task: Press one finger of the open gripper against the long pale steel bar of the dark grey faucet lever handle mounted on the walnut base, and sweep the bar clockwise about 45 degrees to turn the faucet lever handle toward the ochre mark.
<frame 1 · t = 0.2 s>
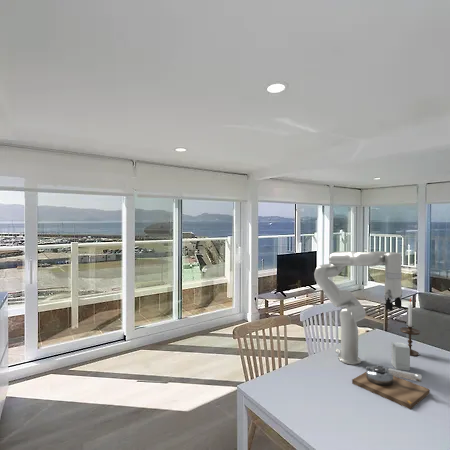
hand: (393, 308, 160), 36 cm above the table, tool pointing down, fingers open, 9 cm apart
candlestick: (410, 353, 190), on the table
supplement box: (400, 367, 171), on the table
nut base: (379, 384, 153), on the table
faucet lever handle: (392, 376, 150), point 6 cm above the table, hinge at 0.0°
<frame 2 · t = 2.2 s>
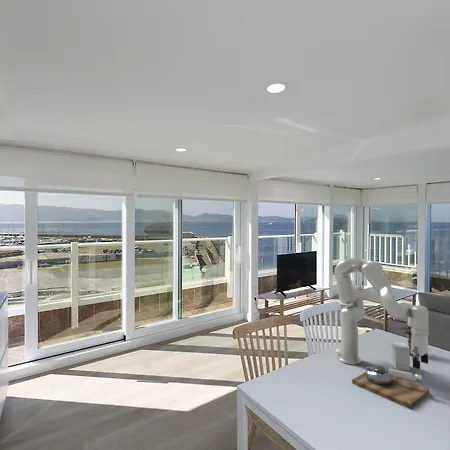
hand: (420, 365, 152), 10 cm above the table, tool pointing down, fingers open, 9 cm apart
nothing on the table moved.
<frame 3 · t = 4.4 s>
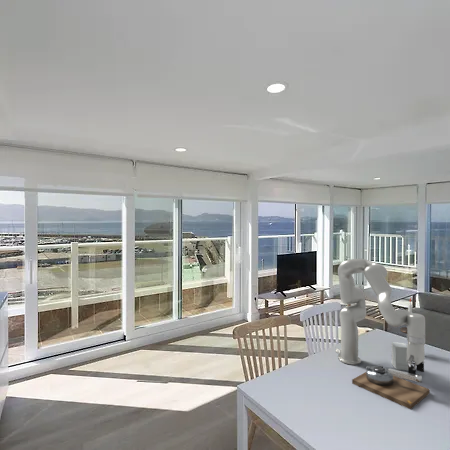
hand: (416, 374, 150), 6 cm above the table, tool pointing down, fingers open, 9 cm apart
faucet lever handle: (392, 376, 150), point 6 cm above the table, hinge at -2.8°, touching gripper
everything else where it was.
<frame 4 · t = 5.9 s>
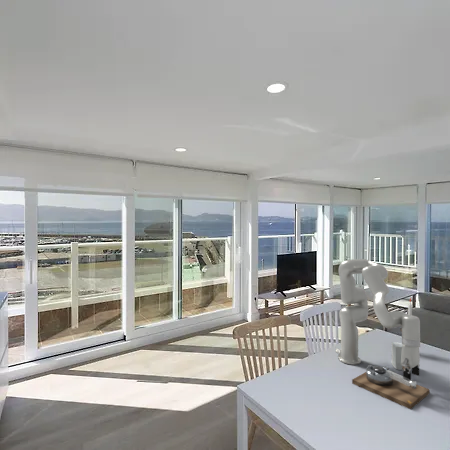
hand: (411, 377, 146), 7 cm above the table, tool pointing down, fingers open, 9 cm apart
faucet lever handle: (390, 378, 148), point 6 cm above the table, hinge at -31.2°, touching gripper
everything else where it was.
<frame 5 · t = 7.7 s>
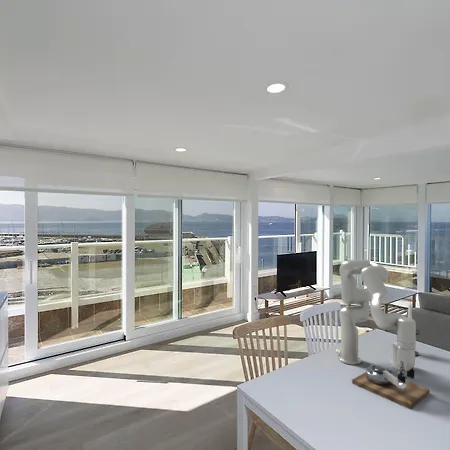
hand: (406, 380, 144), 6 cm above the table, tool pointing down, fingers open, 9 cm apart
faucet lever handle: (387, 378, 147), point 6 cm above the table, hinge at -51.9°, touching gripper
everything else where it was.
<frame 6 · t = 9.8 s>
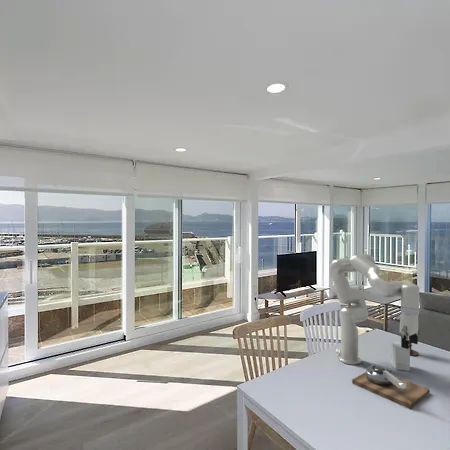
hand: (409, 345, 146), 22 cm above the table, tool pointing down, fingers open, 9 cm apart
faucet lever handle: (387, 378, 147), point 6 cm above the table, hinge at -52.2°
everything else where it was.
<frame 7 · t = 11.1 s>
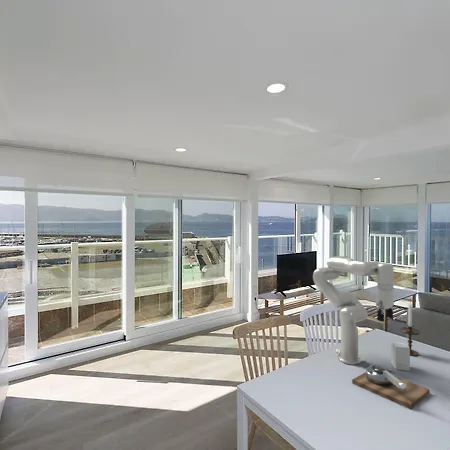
hand: (385, 319, 160), 30 cm above the table, tool pointing down, fingers open, 9 cm apart
nothing on the table moved.
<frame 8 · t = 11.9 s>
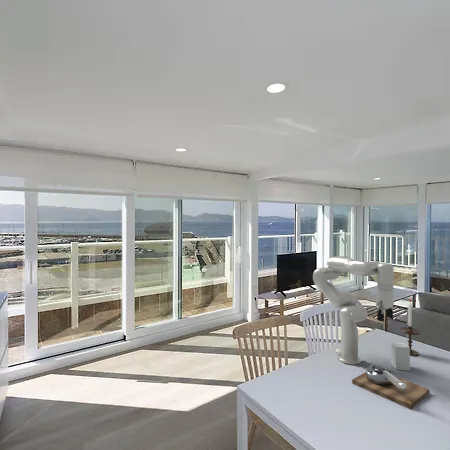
hand: (385, 319, 160), 30 cm above the table, tool pointing down, fingers open, 9 cm apart
nothing on the table moved.
at the end: faucet lever handle at -52° (first picture: +0°) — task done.
